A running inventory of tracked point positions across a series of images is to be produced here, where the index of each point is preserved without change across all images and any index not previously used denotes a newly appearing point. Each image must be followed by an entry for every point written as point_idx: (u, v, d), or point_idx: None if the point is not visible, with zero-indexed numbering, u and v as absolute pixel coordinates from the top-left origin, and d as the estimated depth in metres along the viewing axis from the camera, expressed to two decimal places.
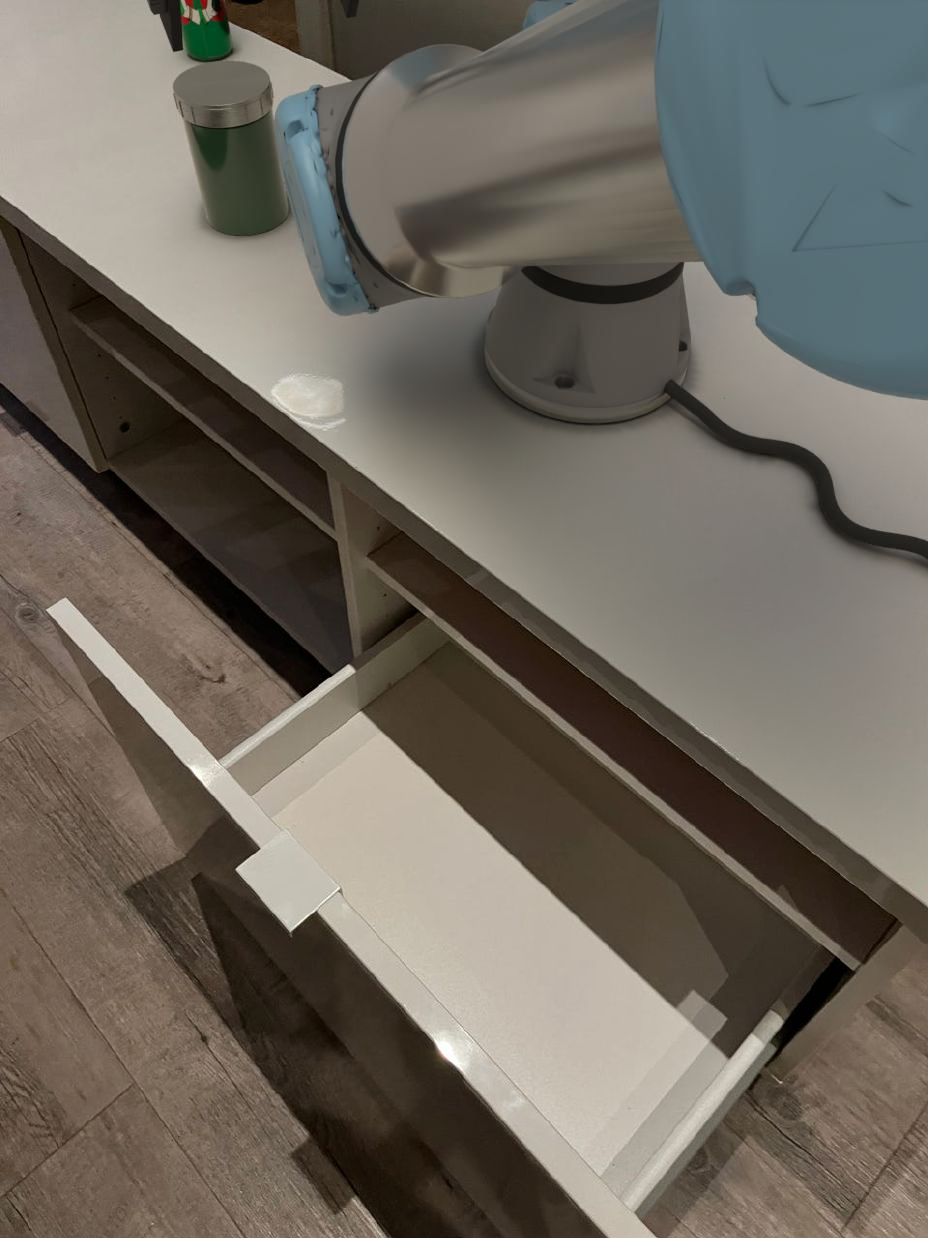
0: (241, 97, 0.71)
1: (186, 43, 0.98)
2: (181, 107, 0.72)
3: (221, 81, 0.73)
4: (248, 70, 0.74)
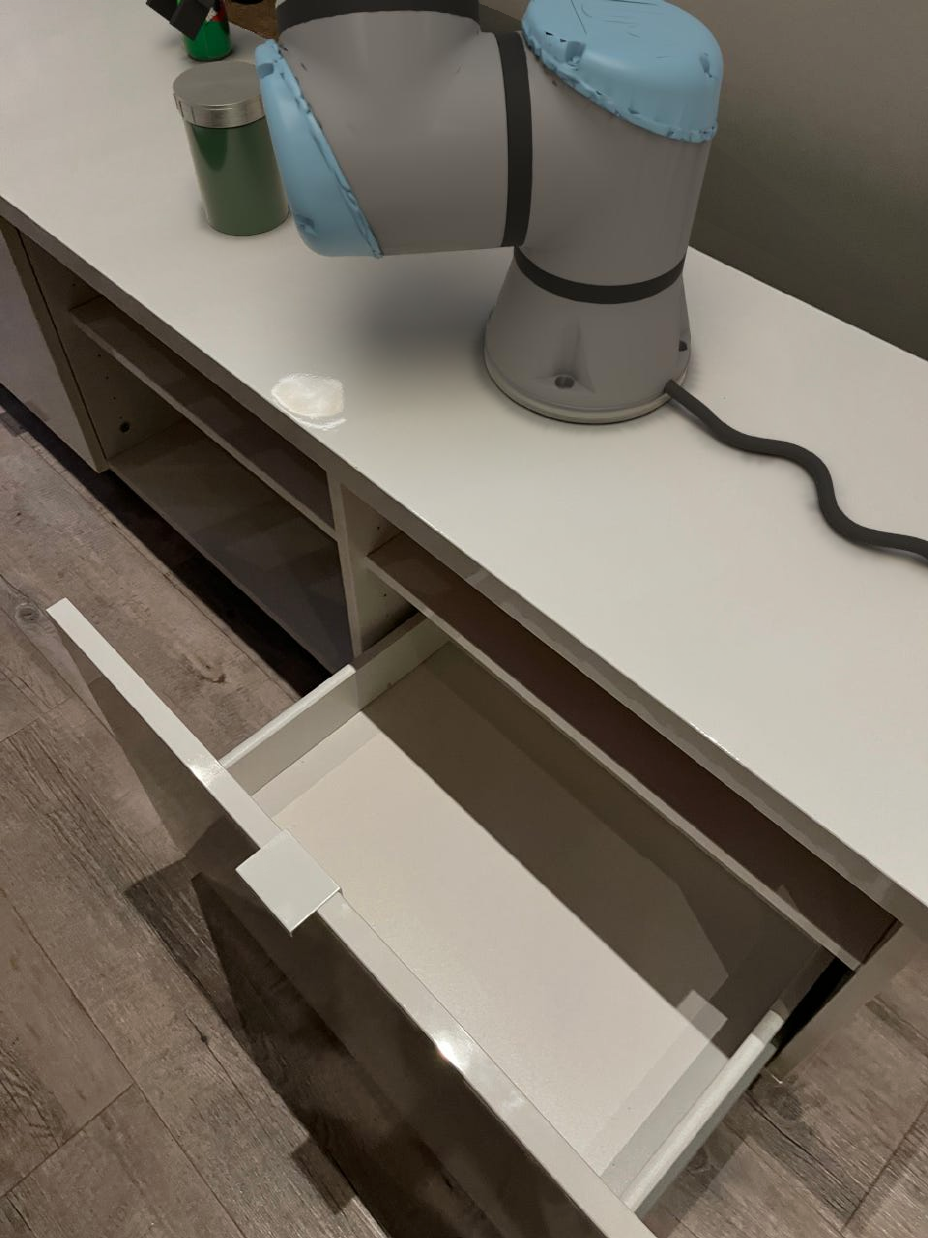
0: (241, 97, 0.71)
1: (186, 43, 0.98)
2: (181, 107, 0.72)
3: (221, 81, 0.73)
4: (248, 70, 0.74)
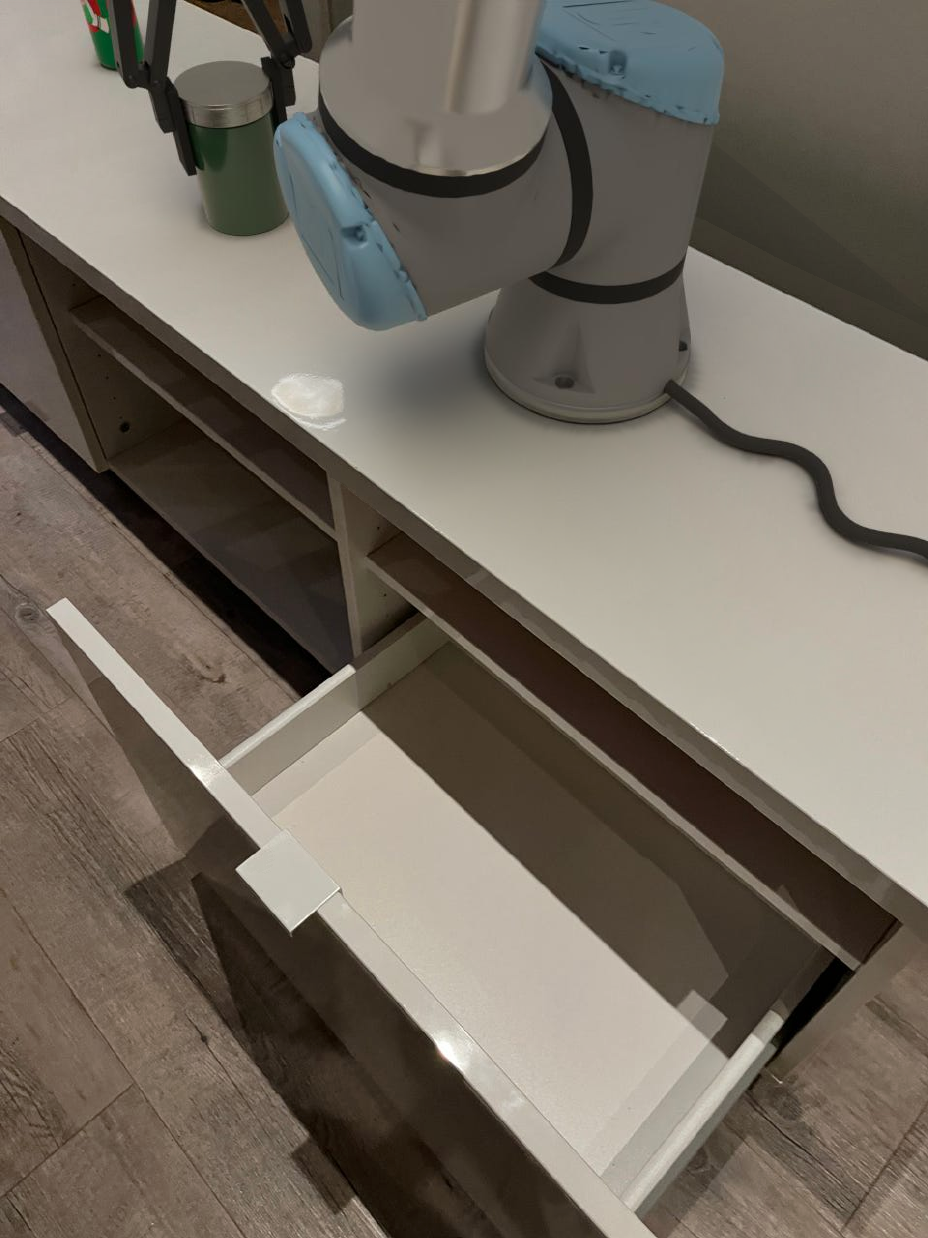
0: (241, 97, 0.71)
1: (97, 52, 0.96)
2: (181, 107, 0.72)
3: (221, 81, 0.73)
4: (248, 70, 0.74)
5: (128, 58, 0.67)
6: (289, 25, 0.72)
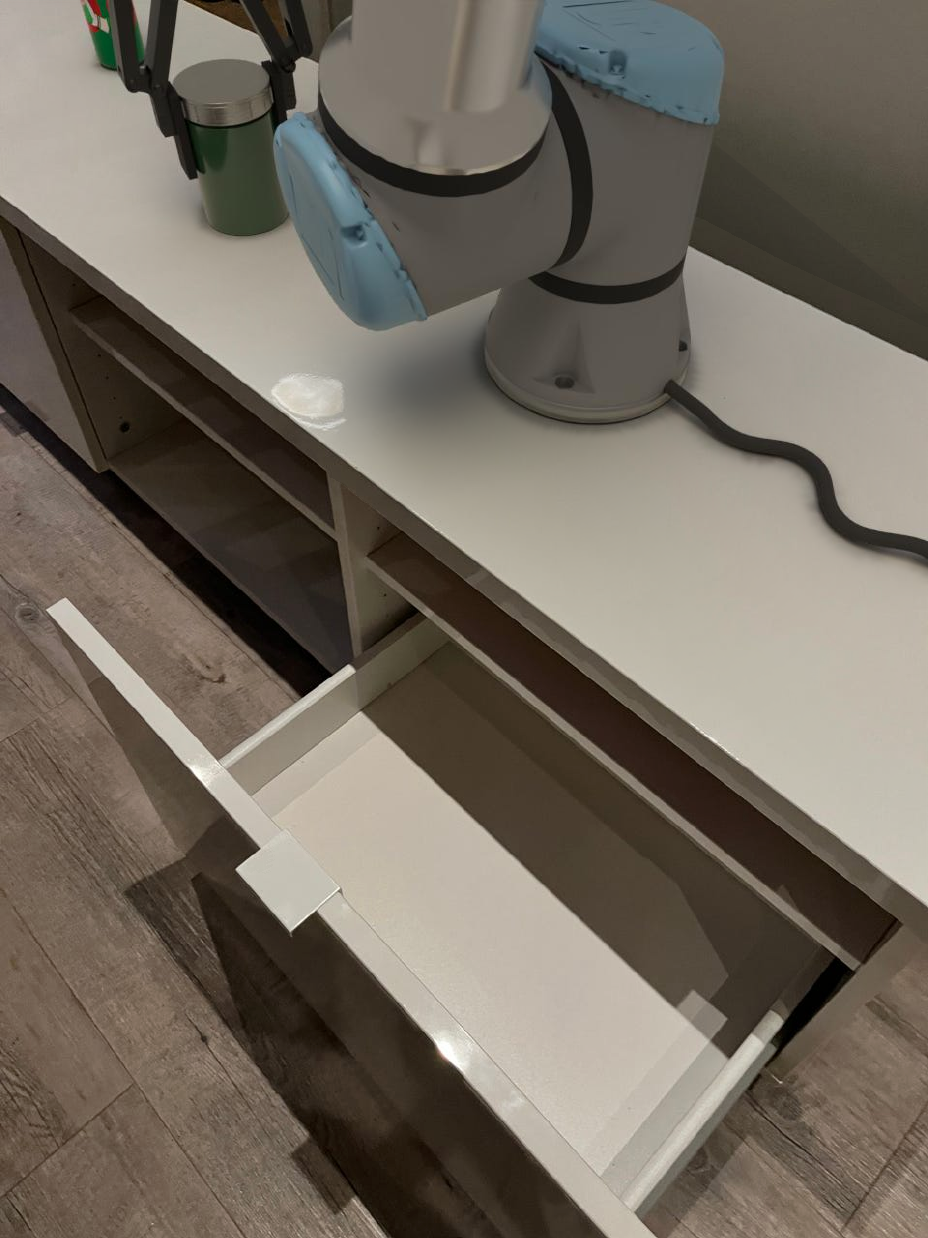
0: (254, 67, 0.74)
1: (97, 52, 0.96)
2: (253, 107, 0.71)
3: (219, 80, 0.72)
4: (196, 70, 0.73)
5: (129, 62, 0.68)
6: (289, 29, 0.73)
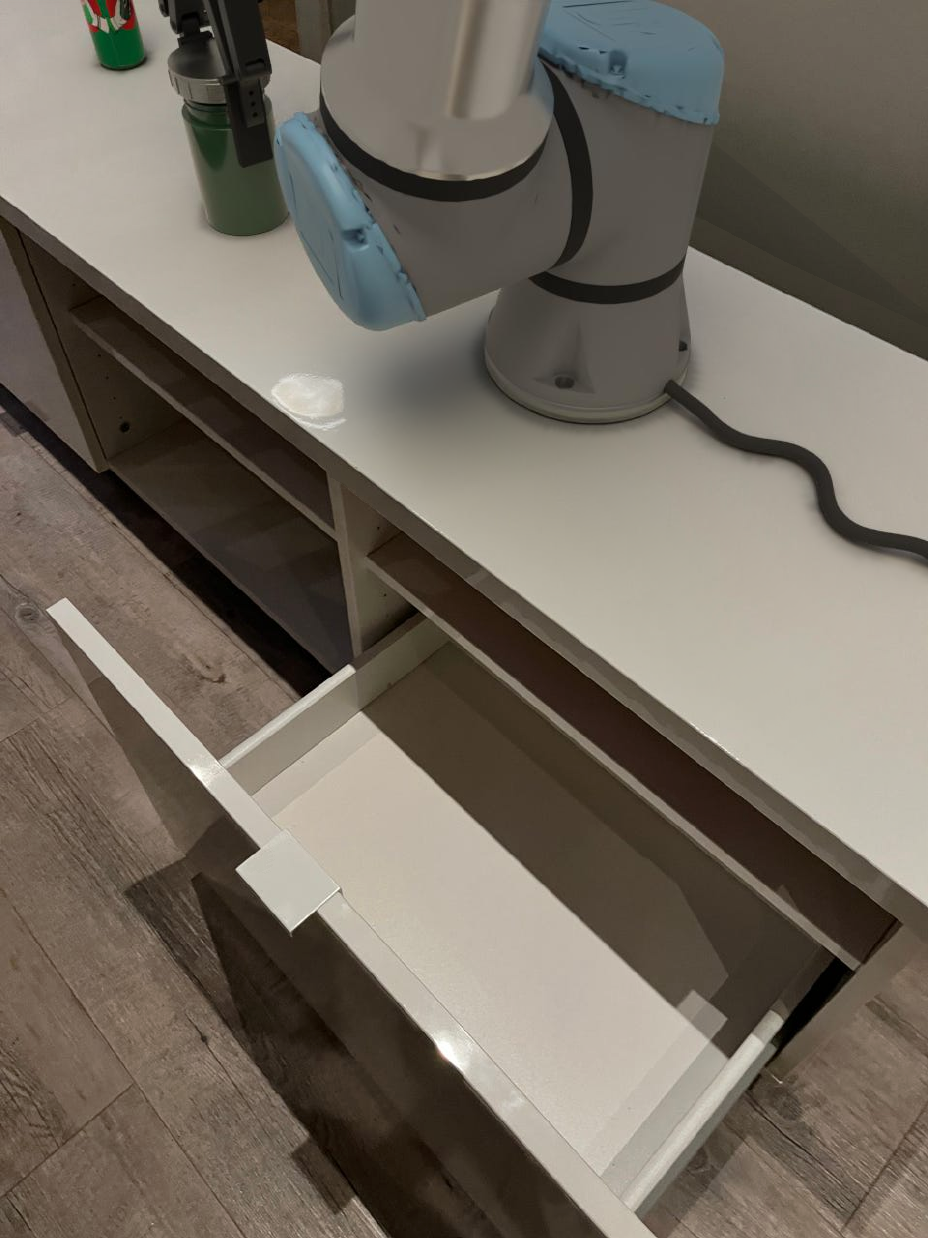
0: None
1: (97, 52, 0.96)
2: (191, 89, 0.70)
3: (216, 56, 0.71)
4: None
5: None
6: None
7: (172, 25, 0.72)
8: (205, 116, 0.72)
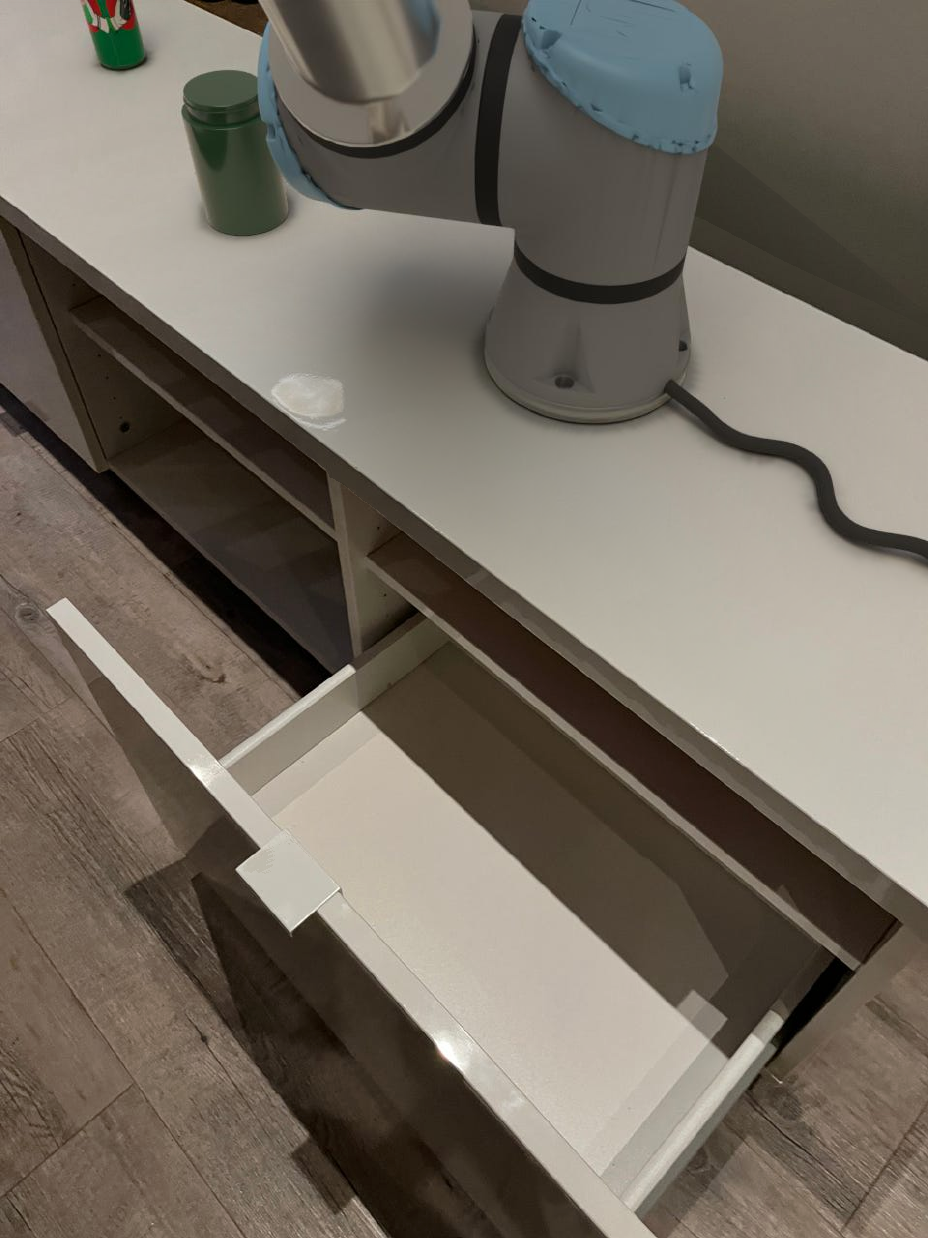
0: None
1: (97, 52, 0.96)
2: None
3: None
4: None
5: None
6: None
7: None
8: (205, 116, 0.72)
